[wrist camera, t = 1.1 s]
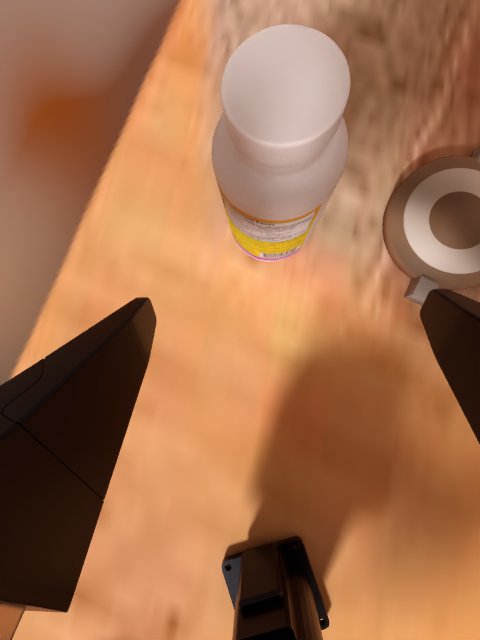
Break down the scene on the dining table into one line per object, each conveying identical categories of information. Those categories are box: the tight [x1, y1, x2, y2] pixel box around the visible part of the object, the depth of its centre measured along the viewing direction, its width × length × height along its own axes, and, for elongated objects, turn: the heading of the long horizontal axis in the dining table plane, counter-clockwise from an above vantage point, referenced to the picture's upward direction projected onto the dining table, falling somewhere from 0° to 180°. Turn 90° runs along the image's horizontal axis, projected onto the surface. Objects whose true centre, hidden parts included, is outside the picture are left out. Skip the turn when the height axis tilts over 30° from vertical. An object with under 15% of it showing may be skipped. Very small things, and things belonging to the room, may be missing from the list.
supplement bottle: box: [212, 24, 351, 262], centre depth 16 cm, size 7×7×13 cm
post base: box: [383, 147, 480, 305], centre depth 21 cm, size 13×10×1 cm
